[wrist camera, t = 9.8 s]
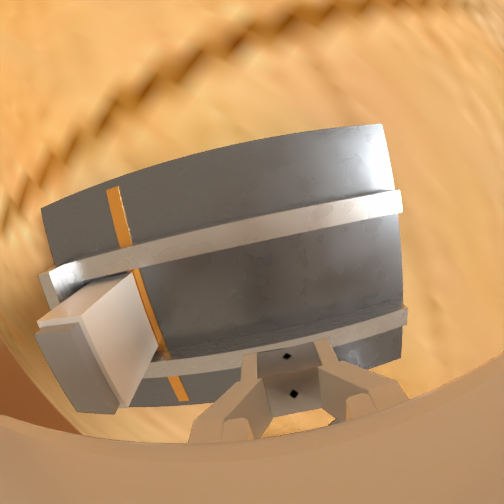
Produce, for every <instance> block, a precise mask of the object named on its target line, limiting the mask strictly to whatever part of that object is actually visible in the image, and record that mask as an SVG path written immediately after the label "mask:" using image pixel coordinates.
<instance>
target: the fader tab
mask: <svg viewBox="0 0 504 504" xmlns="http://www.w3.org/2000/svg"><path fill="white" fill-rule="evenodd" d="M37 323H38V326H39V328H40V330H38V331H37V332H36V333H35V334H34V337H35V339H36V341H37V343H38V345H39V347H40V349H41V351H42V353H43V355H44V357H45V359H46V361H47V363H48V365H49V367H50V369H51V370H52V372H53V374H54V376H55V378H56V379H57V381H58V383H59V384H60V386H61V388H62V389H63V391H64V393H65V394H66V396H67V398H68V399H69V401H70V402H71V404H72V405H73V407H74V408H75V410H76V411H77V412H83V413H95V414H113V415H114V414H115V412H116V410H117V408H128V407H129V405H130V402H131V400H132V398H133V396H134V394H135V392H136V390H137V388H138V386H139V384H140V382H141V380H142V378H143V376H144V373H145V371H146V369H147V367H148V365H149V363H150V361H151V359H152V357H153V355H154V353H155V351H156V349H157V347H158V343H157V341H156V338H155V336H154V333H153V331H152V328H151V325H150V323H149V320H148V317H147V315H146V312H145V309H144V306H143V303H142V301H141V298H140V295H139V292H138V289H137V286H136V283H135V279H134V276H133V273H132V272H130V273H125V274H121V275H116V276H112V277H107V278H103V279H98V280H94V281H92V282H90V283H89V284H87V285H86V286H84V287H83V288H81V289H80V290H79V291H77V292H76V293H74V294H73V295H72V296H70V297H69V298H67V299H66V300H65V301H63V302H62V303H60V304H59V305H58V306H56V307H55V308H54V309H52V310H51V311H50V312H48V313H47V314H46V315H44V316H43V317H42V318H40V319H39V320H38V321H37Z"/></svg>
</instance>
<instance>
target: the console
mask: <svg viewBox="0 0 504 504" xmlns="http://www.w3.org/2000/svg"><path fill="white" fill-rule="evenodd" d="M41 212H42V217H43V222H44V226H45V230H46V234H47V238H48V242H49V246H50V250H51V253H52V257H53V260H54V263H55V266H53V267H51V268H49V269H47V271H45V272H43V273H41V274H39V275H38V276H39V279H40V282H41V285H42V288H43V291H44V294H45V297H46V299H47V302H48V305H49V307H50V310H52V309H54V308H55V307H56V306H58V305H59V304H60V303H62V302H63V301H65V300H66V299H67V298H69V297H70V296H72V295H73V294H74V293H76V292H77V291H79V290H80V289H81V288H83V287H84V286H86V285H87V284H89V283H90V282H92V281H94V280H98V279H103V278H107V277H112V276H116V275H121V274H125V273H130V272H132V273H133V276H134V279H135V283H136V286H137V289H138V292H139V295H140V298H141V301H142V303H143V306H144V309H145V312H146V315H147V317H148V320H149V323H150V325H151V328H152V331H153V333H154V336H155V338H156V341H157V343H158V347H157V349H156V351H155V353H154V355H153V357H152V359H151V361H150V363H149V365H148V367H147V369H146V371H145V373H144V376H143V378H142V380H141V382H140V384H139V386H138V388H137V390H136V392H135V394H134V396H133V398H132V400H131V402H130V405H129V407H159V406H178V405H192V404H203V403H213V402H215V401H216V400H218V399H219V398H220V397H221V396H222V395H223V394H224V393H225V392H226V391H227V390H228V389H229V388H231V387H232V386H233V385H234V384H235V383H236V382H239V381H241V367H242V356H243V355H244V354H250V353H255V352H257V353H258V352H263V351H269V350H275V349H280V348H287V347H292V346H296V345H300V344H304V343H308V342H312V341H316V340H320V339H323V338H328V340H329V342H330V344H331V346H332V348H333V350H334V352H335V354H336V356H337V359H338V361H345V362H348V363H350V364H353V365H355V366H358V367H361V368H363V369H366V370H367V369H370V368H373V367H376V366H379V365H382V364H385V363H388V362H391V361H393V360H396V359H399V358H401V347H402V326H404V325H406V324H407V311H408V307H406V306H405V305H404V304H403V278H402V256H401V242H400V230H399V220H398V213H400V212H403V209H402V201H401V194H400V190H395V189H394V183H393V177H392V171H391V165H390V160H389V155H388V150H387V145H386V140H385V136H384V131H383V127H382V124H372V125H359V126H348V127H339V128H330V129H322V130H314V131H307V132H300V133H293V134H287V135H281V136H275V137H270V138H264V139H259V140H254V141H249V142H244V143H239V144H235V145H230V146H226V147H221V148H217V149H213V150H209V151H205V152H201V153H197V154H193V155H189V156H185V157H182V158H178V159H175V160H171V161H168V162H164V163H161V164H158V165H154V166H151V167H148V168H145V169H141V170H138V171H135V172H132V173H129V174H126V175H123V176H120V177H118V178H115V179H112V180H109V181H106V182H104V183H101V184H98V185H96V186H93V187H90V188H88V189H85V190H83V191H80V192H78V193H75V194H73V195H70V196H68V197H66V198H63V199H61V200H59V201H56V202H54V203H52V204H49V205H47V206H45V207H43V208H41Z"/></svg>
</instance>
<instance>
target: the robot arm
mask: <svg viewBox="0 0 504 504" xmlns="http://www.w3.org/2000/svg"><path fill="white" fill-rule="evenodd" d="M319 408H322V409H323V410H325V411H326V412H328V413H329V414H330V415H332V416H333V417H334V418H336V419H337V420H339V421H340V422H341V423H337V424H333V425H329V426H325V427H321V428H317V429H312V430H307V431H302V432H297V433H292V434H286V435H280V436H274V437H267V438H261V436H262V435H263V433H264V432H265V430H266V429H267V427H268V426H269V424H270V423H271V421H272V419H273V417H279V416H284V415H288V414H293V413H297V412H303V411H309V410H314V409H319ZM0 504H504V351H503V352H502V353H500V354H499V355H497V356H495V357H494V358H492V359H491V360H489V361H487V362H486V363H484V364H482V365H480V366H479V367H477V368H475V369H473V370H472V371H470V372H468V373H466V374H464V375H462V376H460V377H458V378H456V379H454V380H452V381H450V382H448V383H446V384H444V385H442V386H440V387H438V388H436V389H434V390H431V391H429V392H427V393H425V394H422V395H420V396H418V397H415V398H413V399H410V400H409V398H408V397H407V395H406V394H405V392H404V391H403V389H402V388H401V386H400V385H399V383H398V382H397V381H396V380H393V379H390V378H388V377H385V376H382V375H379V374H377V373H374V372H371V371H369V370H366V369H363V368H361V367H358V366H355V365H353V364H350V363H348V362H345V361H338V359H337V356H336V354H335V352H334V350H333V348H332V346H331V344H330V342H329V340H328V338H323V339H320V340H316V341H312V342H308V343H304V344H300V345H296V346H292V347H287V348H280V349H275V350H269V351H263V352H258V353H257V352H255V353H250V354H244V355H243V356H242V367H241V381H239V382H236V383H235V384H234V385H233V386H232V387H231V388H229V389H228V390H227V391H226V392H225V393H224V394H223V395H222V396H221V397H220V398H219V399H218V400H216V401H215V402H214V403H213V404H212V405H211V406H210V407H209V408H208V409H206V410H205V411H204V412H203V413H202V414H201V415H200V416H198V417H197V418H196V419H195V420H194V421H193V425H192V429H191V433H190V437H189V441H188V444H168V443H144V442H130V441H120V440H111V439H103V438H96V437H90V436H84V435H78V434H73V433H68V432H63V431H59V430H54V429H50V428H46V427H42V426H38V425H35V424H31V423H27V422H25V421H21V420H18V419H15V418H12V417H9V416H6V415H0Z"/></svg>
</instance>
